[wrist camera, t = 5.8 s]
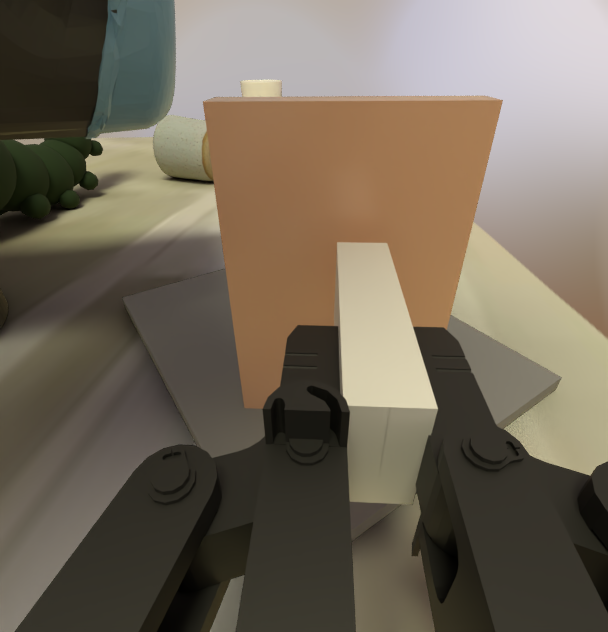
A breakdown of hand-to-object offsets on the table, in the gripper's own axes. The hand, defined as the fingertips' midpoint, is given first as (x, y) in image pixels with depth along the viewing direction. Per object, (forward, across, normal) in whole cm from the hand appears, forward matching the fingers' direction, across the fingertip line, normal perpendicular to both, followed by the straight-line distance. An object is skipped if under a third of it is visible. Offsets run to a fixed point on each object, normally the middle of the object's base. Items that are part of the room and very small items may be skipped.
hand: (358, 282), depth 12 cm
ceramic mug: (+44, -18, -8) cm, 49 cm away
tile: (+2, 0, -7) cm, 7 cm away
